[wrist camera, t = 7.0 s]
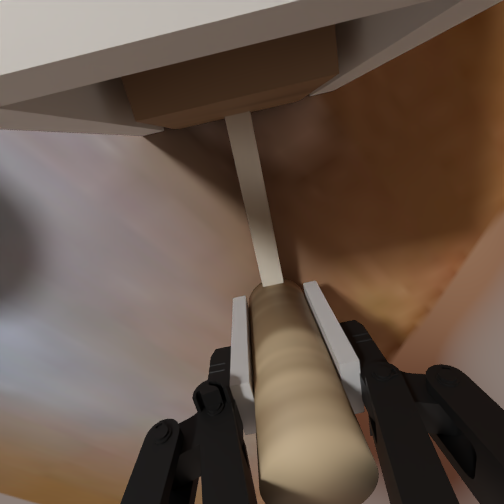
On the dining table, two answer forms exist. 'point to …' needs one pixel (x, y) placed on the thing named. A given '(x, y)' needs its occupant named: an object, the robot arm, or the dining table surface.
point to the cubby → (179, 47)
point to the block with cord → (273, 268)
